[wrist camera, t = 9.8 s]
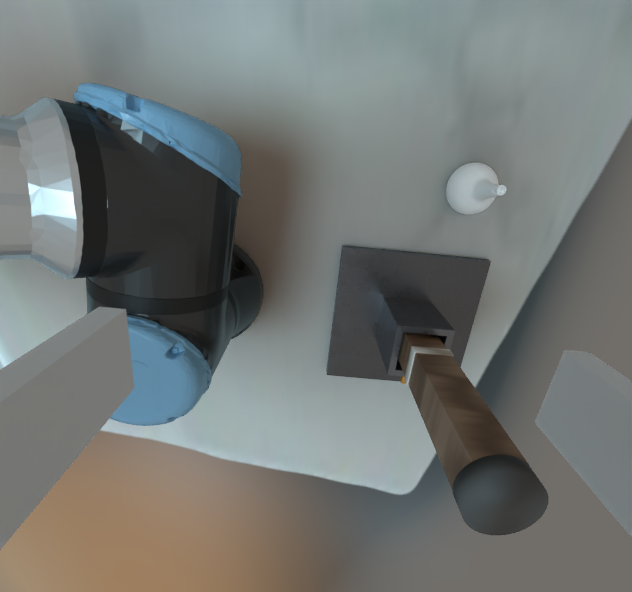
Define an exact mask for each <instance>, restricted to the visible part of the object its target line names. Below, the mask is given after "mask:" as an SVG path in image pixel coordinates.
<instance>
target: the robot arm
mask: <svg viewBox="0 0 632 592" xmlns="http://www.w3.org/2000/svg"><path fill="white" fill-rule="evenodd" d="M74 100H75V103H76V104H73V103H69V102H64V101H60V100H56V99H51V98H47V97H43V98H41V99H40V100H38V101H37V102H35V103H34V104H32V105H31V106H30V107H28V108H27V109H25V110H24V111H22V112H21V113H19V114H17V115H13V116H10V117H8V116H2V115H0V260H2V259H27V258H28V259H31V260H34V261H37V262H39V263H40V264H42V265H43V266H45V267H46V268H48V269H49V270H51V271H53V272H54V273H56V274H57V275H59V276H60V277H62V278H65V279H72V278H84V277H86V287H87V315H85V316H84V317H82V318H81V319H79V320H78V321H76V322H74V323H73V324H71V325H70V326H68V327H67V328H65V329H63V330H62V331H60V332H59V333H57V334H56V335H54V336H53V337H51V338H49V339H48V340H46V341H45V342H43V343H42V344H40V345H38V346H37V347H35V348H34V349H32V350H31V351H29V352H28V353H26V354H24V355H23V356H21V357H20V358H18V359H17V360H15V361H13V362H12V363H10V364H9V365H7V366H6V367H4V368H3V369H1V370H0V550H1V548H2V547H3V546H4V545H5V544H6V542H7V541H8V540H9V539H10V538H11V536H12V535H13V534H14V533H15V531H16V530H17V529H18V528H19V526H20V525H21V524H22V523H23V522H24V521H25V519H26V518H27V517H28V516H29V515H30V513H31V512H32V511H33V510H34V508H35V507H36V506H37V505H38V504H39V503H40V501H41V500H42V499H43V497H45V495H46V494H47V493H48V492H49V491H50V489H51V488H52V487H53V486H54V484H55V483H56V482H57V481H58V480H59V478H60V477H61V476H62V475H63V474H64V472H65V471H66V470H67V469H68V468H69V466H70V465H71V464H72V463H73V462H74V460H75V459H76V458H77V457H78V455H79V454H80V453H81V452H82V451H83V450H84V448H85V447H86V446H87V445H88V443H89V442H90V441H91V440H92V439H93V437H94V436H95V435H96V434H97V433H98V431H99V430H100V429H101V428H102V427H103V425H104V424H105V423H106V422H107V421H108V419H109V418H110V419H113V420H116V421H119V422H122V423H127V424H132V425H142V426H150V425H160V424H165V423H169V422H172V421H174V420H175V419H176V418H179V417H181V416H184V415H186V414H187V413H188V412H189V411H190V410H192V409H193V407H194V406H195V405H196V404H197V402H198V401H199V399H200V398H201V396H202V395H203V394H204V393H205V392H206V391H207V390H208V388H209V385H210V383H211V379H212V376H213V374H214V372H215V370H216V368H217V366H218V364H219V362H220V360H221V358H222V356H223V354H224V352H225V350H226V348H227V346H228V344H229V342H230V340H231V339H233V338H235V337H237V336H238V335H240V334H241V333H243V332H244V331H245V330H246V329H247V328H248V327H249V326H250V325H251V324H252V323H253V321H254V320H255V318H256V316H257V314H258V311H259V309H260V306H261V303H262V299H263V284H262V279H261V276H260V273H259V271H258V269H257V267H256V265H255V264H254V262H253V261H252V259H251V258H250V257H249V256H248V255H247V254H246V253H245V252H244V251H243V250H242V249H241V248H239V247H238V246H236V245H235V244H234V235H235V225H236V216H237V207H238V198H241V196H242V192H241V189H240V175H241V152H240V149H239V147H238V145H237V144H236V142H235V141H234V140H233V139H232V138H231V137H230V136H229V135H228V134H227V133H225V132H224V131H222V130H220V129H219V128H217V127H215V126H213V125H211V124H209V123H207V122H204V121H202V120H200V119H198V118H195V117H193V116H191V115H188V114H186V113H183V112H181V111H178V110H176V109H173V108H171V107H168V106H165V105H163V104H160V103H157V102H154V101H151V100H148V99H140V98H139V97H137V96H134V95H131V94H128V93H126V92H123V91H121V90H118V89H115V88H111V87H107V86H103V85H99V84H94V83H83V84H80V85H79V86H78V89H77V92H76V93H75V94H74ZM535 424H536V425H537V426H538V427H539V428H540V429H541V431H542V432H543V433H544V434H545V435H546V437H547V438H548V439H549V440H550V441H551V442H552V444H553V445H554V446H555V447H556V448H557V449H558V451H559V452H560V453H561V454H562V455H563V457H564V458H565V459H566V460H567V461H568V462H569V464H570V465H571V466H572V467H573V468H574V470H575V471H576V472H577V473H578V474H579V475H580V477H581V478H582V479H583V480H584V481H585V482H586V484H587V485H588V486H589V487H590V489H591V490H592V491H593V492H594V493H595V494H596V495H597V496H598V498H599V499H600V500H601V501H602V503H603V504H604V505H605V506H606V507H607V508H608V510H609V511H610V512H611V513H612V514H613V516H614V517H615V518H616V519H617V520H618V522H619V523H620V524H621V525H622V526H623V527H624V528H625V530H626V531H627V532H628V533H629V535H630V536H631V537H632V381H630V380H629V379H627V378H626V377H624V376H623V375H622V374H620V373H619V372H617V371H616V370H614V369H613V368H611V367H610V366H608V365H607V364H605V363H604V362H602V361H601V360H600V359H598V358H597V357H595V356H594V355H592V354H591V353H589V352H581V351H570V350H564V353H563V355H562V357H561V360H560V362H559V365H558V367H557V369H556V372H555V374H554V377H553V379H552V382H551V384H550V387H549V389H548V391H547V394H546V397H545V399H544V401H543V403H542V406H541V408H540V411H539V413H538V416H537V418H536V420H535Z"/></svg>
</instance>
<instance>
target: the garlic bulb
mask: <svg viewBox="0 0 632 592" xmlns="http://www.w3.org/2000/svg"><path fill="white" fill-rule="evenodd" d="M504 186H505V185H504ZM504 186H503V185H499V183H498V178H497V175H496V173H495V172H494V171H493V170H492V169H491V168H490V167H489V166H487V165H485V164H482V163H468V164H465V165H463V166H461V167H459V168H458V169H456V170H455V171H454V172H453V174H452V175H451V176H450V178H449V180H448V182H447V186H446V198H447V201H448V203H449V205H450V206H451V207H452V208H453V209H454V210H455V211H457V212H459V213H461V214H465V215H473V214H477V213H480V212H482V211H484V210H485V209H487V208H488V207H489V206H490V205H491V204H492V202H493V201H494V199H495V198H496V196H502V195H504V194H505V193H506V191H507V190H506V187H504Z"/></svg>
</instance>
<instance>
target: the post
mask: <svg viewBox="0 0 632 592" xmlns="http://www.w3.org/2000/svg"><path fill="white" fill-rule="evenodd" d="M453 356H454V355H453V353H452V352H451V351H450V349H447V348H446V347H445V345H444V344H443V343H442V341H441V340H440V338H439V337H438V336H437V335H429V334H418V333H407V332H403V336H402V340H401V345H400V350H399V355H398V360H399V363H400V365H401V368H402V370H403V372H404V375H405V377H404V379H405V382H406V384H407V385H409V387H410V389H411V392H412V394H413V396H414V399H415V401H416V404H417V406H418V408H419V411H420V413H421V416H422V418H423V420H424V423H425V425H426V428H427V430H428V433H429V435H430V437H431V440H432V442H433V445H434V447H435V449H436V452H437V454H438V457H439V459H440V461H441V464H442V466H443V468H444V471H445V473H446V476H447V478H448V481H449V483H450V485H451V488H452V490H453V495H454V498H455V500H456V503H457V505H458V507H459V509H460V512H461V515H462V517H463V519H464V521H465V522H466V524H467V525H468V526H469V527H470V528H472V529H474V530H475V531H478V532H480V533H483V534H488V535H506V534H511V533H515V532H518V531H521V530H523V529H525V528H527V527H529V526H530V525H532V524H534V523H535V522H536V521H537V520H538V519H539V518H540V517H541V516H542V515H543V513H544V512H545V510H546V508H547V505H548V494H547V491H546V489H545V488H544V486H543V485H542V483H541V482H540V481H539V479H538V478H537V476H536V475H535V473H534V472H533V471H532V469H531V468H530V466H529V464H528V463H527V461H526V460H525V458H524V457H523V456H522V454H521V453H520V451H519V450H518V449H517V447H516V446H515V444H514V443H513V442H512V440H511V439H510V438H509V436H508V434H507V433H506V432H505V430H504V429H503V427H502V426H501V425H500V423H499V422H498V420H497V419H496V418H495V416H494V415H493V413H492V412H491V411H490V409H489V408H488V406H487V405H486V404H485V402H484V401H483V399H482V398H481V396H480V395H479V394H478V392H477V391H476V389H475V388H474V386H473V385H472V384H471V382H470V381H469V379H468V378H467V377H466V375H465V374H464V372H463V371H462V369H461V368H460V367H459V365H458V364H457V362H456V361H455V360H454V358H453Z"/></svg>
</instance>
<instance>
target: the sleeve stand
mask: <svg viewBox="0 0 632 592" xmlns="http://www.w3.org/2000/svg"><path fill="white" fill-rule="evenodd" d="M489 266H490V261H489V260H487V259H477V258H467V257H457V256H446V255H436V254H426V253H416V252H405V251H395V250H385V249H375V248H364V247H354V246H344V245H342V253H341V261H340V269H339V277H338V285H337V293H336V300H335V308H334V316H333V324H332V332H331V340H330V348H329V356H328V363H327V375H333V376H345V377H356V378H368V379H380V380H391V381H401V383H405V384H406V382H405V379H404V377H405V375H404V372H403V370H402V368H401V365H400V363H399V360H398V355H399V350H400V345H401V340H402V336H403V332H407V333H418V334H429V335H437V336H438V337H439V338H440V340H441V341H442V343H443V344H444V345H445V347H446V348H447V349H450V351H451V352H452V353H453V355H454V356H453V358H454V360H455V361H456V362H457V364H458V365H459V367H460V366H461V363H462V359H463V356H464V352H465V349H466V345H467V342H468V338H469V335H470V331H471V328H472V325H473V321H474V318H475V314H476V311H477V307H478V304H479V300H480V297H481V293H482V290H483V287H484V283H485V280H486V276H487V273H488V269H489Z"/></svg>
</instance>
